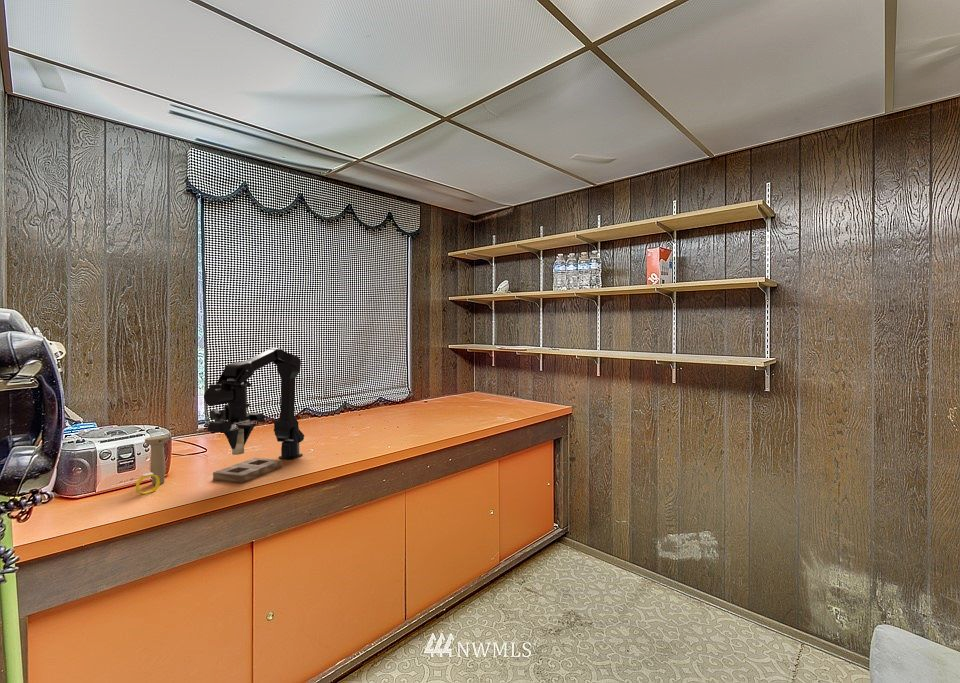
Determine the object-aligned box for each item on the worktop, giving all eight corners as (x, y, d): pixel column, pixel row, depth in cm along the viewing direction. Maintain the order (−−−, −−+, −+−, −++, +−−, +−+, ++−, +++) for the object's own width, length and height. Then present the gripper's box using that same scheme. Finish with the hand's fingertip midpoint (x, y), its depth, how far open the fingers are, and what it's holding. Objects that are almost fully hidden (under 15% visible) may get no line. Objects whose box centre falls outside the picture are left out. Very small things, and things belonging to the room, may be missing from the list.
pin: (238, 451, 156) (237, 428, 156) (246, 452, 155) (246, 428, 154) (229, 454, 152) (228, 430, 152) (238, 455, 151) (237, 431, 151)
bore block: (254, 464, 168) (254, 457, 168) (281, 467, 165) (281, 460, 165) (213, 479, 151) (212, 472, 151) (242, 483, 148) (241, 475, 147)
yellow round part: (140, 497, 136) (138, 478, 136) (135, 495, 138) (133, 476, 137) (162, 489, 142) (160, 471, 141) (157, 488, 143) (155, 470, 142)
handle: (172, 482, 149) (171, 436, 148) (149, 487, 144) (148, 440, 143) (166, 479, 152) (165, 434, 151) (143, 484, 146) (142, 438, 146)
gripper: (240, 396, 164) (240, 439, 165) (193, 404, 146) (194, 452, 147) (265, 397, 161) (266, 441, 161) (221, 406, 143) (222, 455, 144)
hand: (238, 447), depth 153 cm, fingers closed on pin, 4 cm apart
